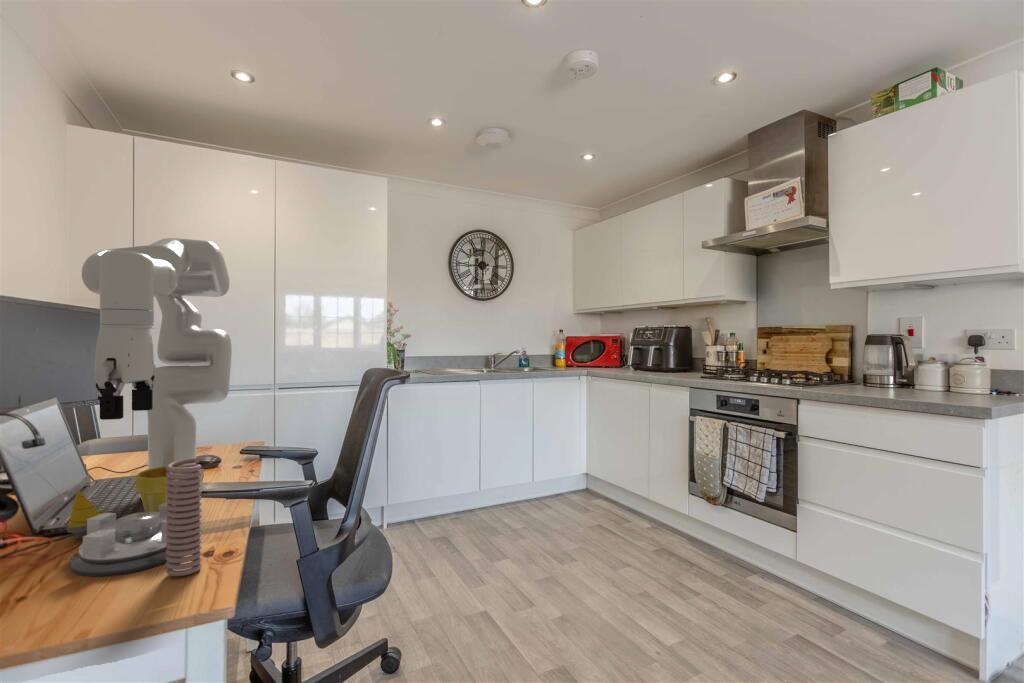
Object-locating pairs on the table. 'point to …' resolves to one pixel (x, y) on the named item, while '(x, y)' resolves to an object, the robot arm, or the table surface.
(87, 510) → the stepped yellow cone
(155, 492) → the plant pot
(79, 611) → the table surface
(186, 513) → the coil
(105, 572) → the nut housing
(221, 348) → the robot arm
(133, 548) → the steel lathe chuck
